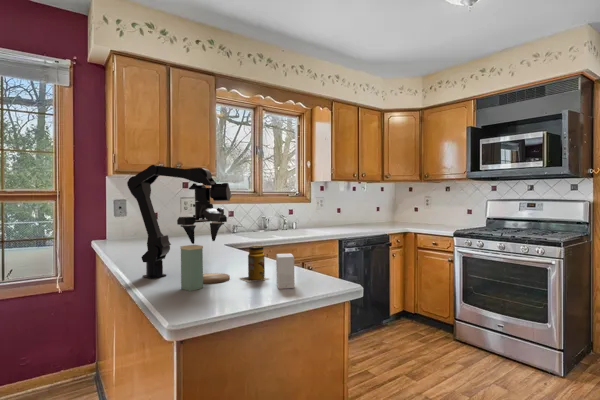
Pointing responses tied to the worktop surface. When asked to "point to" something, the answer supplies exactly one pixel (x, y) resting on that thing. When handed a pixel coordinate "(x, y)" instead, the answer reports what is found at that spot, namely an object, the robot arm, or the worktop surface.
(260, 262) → the condiment
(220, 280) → the disc
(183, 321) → the worktop surface
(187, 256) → the tea tin
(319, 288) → the worktop surface
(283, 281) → the small box
